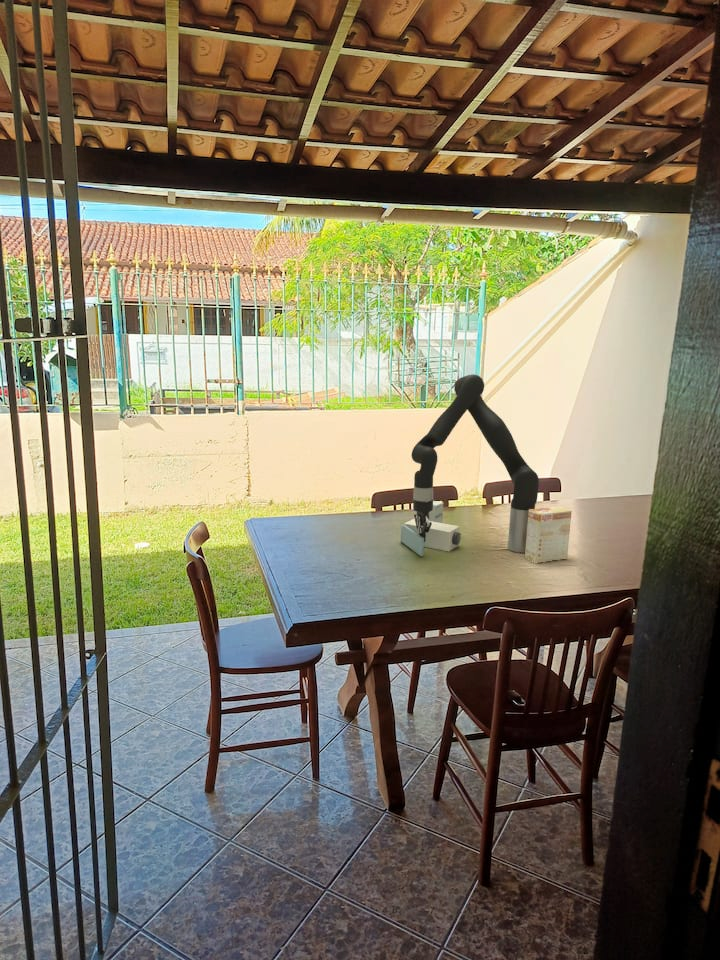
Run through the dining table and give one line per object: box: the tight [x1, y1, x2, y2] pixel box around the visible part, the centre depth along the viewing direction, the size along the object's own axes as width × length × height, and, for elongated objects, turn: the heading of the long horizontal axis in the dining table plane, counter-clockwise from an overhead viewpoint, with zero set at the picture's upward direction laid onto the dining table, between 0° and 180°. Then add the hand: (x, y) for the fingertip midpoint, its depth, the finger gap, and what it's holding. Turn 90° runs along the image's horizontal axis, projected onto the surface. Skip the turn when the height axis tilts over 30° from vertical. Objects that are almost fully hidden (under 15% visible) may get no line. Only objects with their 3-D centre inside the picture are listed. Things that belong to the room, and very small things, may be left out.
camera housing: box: [403, 518, 462, 553], centre depth 252 cm, size 22×9×9 cm, turn 58°
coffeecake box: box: [524, 505, 573, 564], centre depth 236 cm, size 15×7×20 cm, turn 111°
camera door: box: [400, 523, 425, 557], centre depth 245 cm, size 19×1×7 cm, turn 20°
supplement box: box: [429, 500, 444, 523], centre depth 270 cm, size 7×7×13 cm
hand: (422, 541), depth 240 cm, fingers closed
